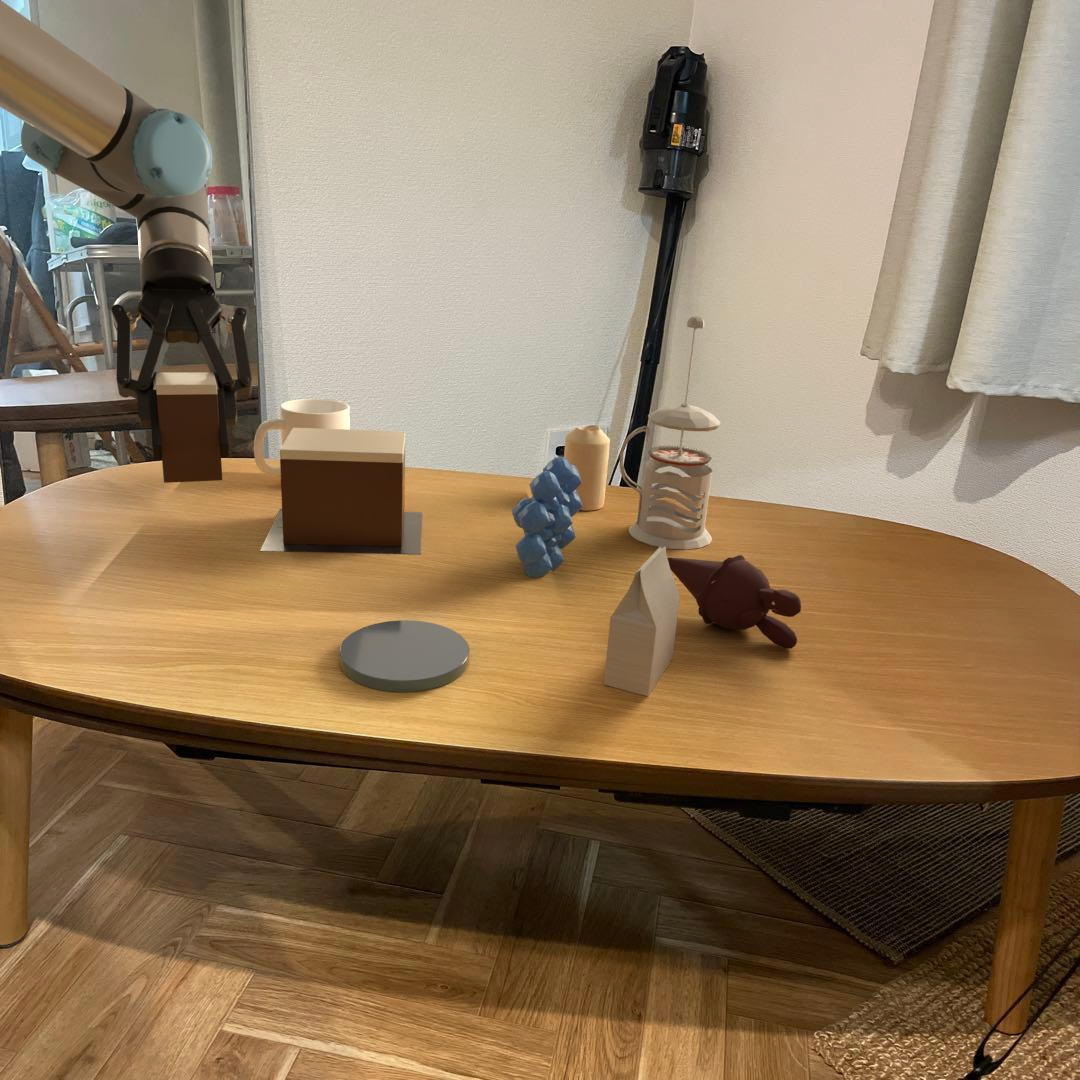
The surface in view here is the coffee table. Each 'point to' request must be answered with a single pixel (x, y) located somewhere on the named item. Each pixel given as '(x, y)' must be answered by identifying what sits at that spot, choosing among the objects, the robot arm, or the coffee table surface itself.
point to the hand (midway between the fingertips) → (191, 451)
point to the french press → (675, 478)
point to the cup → (301, 423)
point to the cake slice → (189, 426)
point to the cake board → (409, 545)
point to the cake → (343, 487)
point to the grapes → (548, 517)
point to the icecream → (738, 596)
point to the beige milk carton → (643, 628)
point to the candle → (589, 463)
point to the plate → (404, 656)
